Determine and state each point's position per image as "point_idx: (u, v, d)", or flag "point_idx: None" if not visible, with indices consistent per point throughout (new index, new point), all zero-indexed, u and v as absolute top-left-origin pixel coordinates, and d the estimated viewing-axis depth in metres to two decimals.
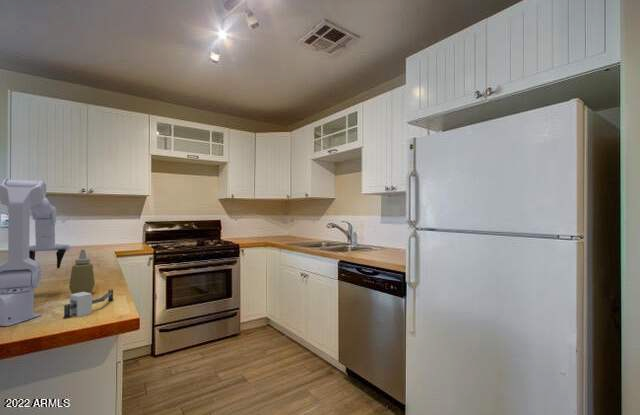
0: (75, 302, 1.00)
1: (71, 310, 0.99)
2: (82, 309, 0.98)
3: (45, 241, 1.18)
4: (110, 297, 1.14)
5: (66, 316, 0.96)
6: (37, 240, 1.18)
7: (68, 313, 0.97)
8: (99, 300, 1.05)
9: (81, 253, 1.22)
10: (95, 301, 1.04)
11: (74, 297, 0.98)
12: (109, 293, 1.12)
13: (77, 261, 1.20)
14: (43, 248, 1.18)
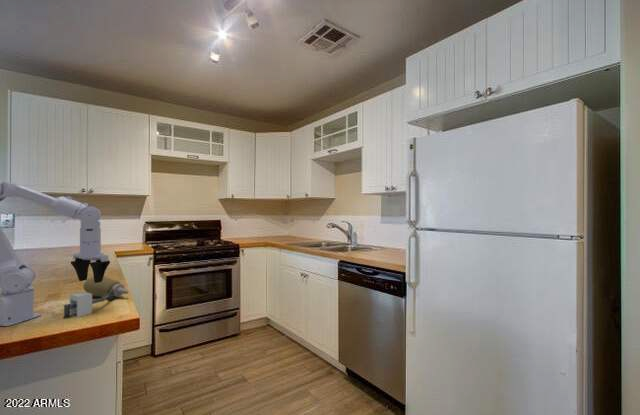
0: (75, 302, 1.00)
1: (71, 310, 0.99)
2: (82, 309, 0.98)
3: (83, 248, 1.02)
4: (110, 297, 1.14)
5: (66, 316, 0.96)
6: None
7: (68, 313, 0.97)
8: (99, 300, 1.05)
9: (122, 292, 1.17)
10: (95, 301, 1.04)
11: (74, 297, 0.98)
12: (109, 293, 1.12)
13: None
14: (81, 256, 1.02)
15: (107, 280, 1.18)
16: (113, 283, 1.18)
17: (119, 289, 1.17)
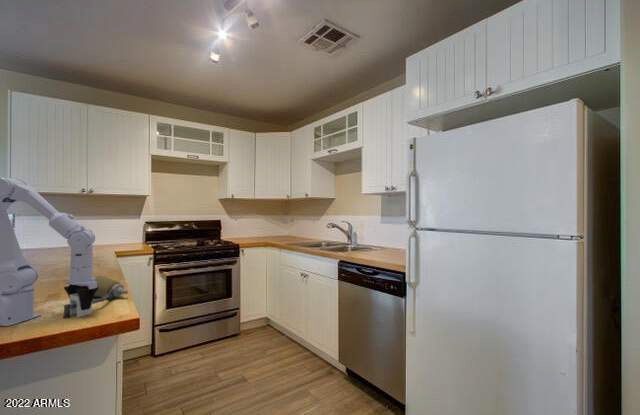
0: (75, 302, 1.00)
1: (71, 310, 0.99)
2: None
3: (72, 273, 0.98)
4: (110, 297, 1.14)
5: (66, 316, 0.96)
6: None
7: (68, 313, 0.97)
8: (99, 300, 1.05)
9: (122, 292, 1.17)
10: (95, 301, 1.04)
11: (74, 297, 0.98)
12: (109, 293, 1.12)
13: None
14: (70, 282, 0.98)
15: (106, 280, 1.18)
16: (112, 283, 1.18)
17: (119, 289, 1.17)
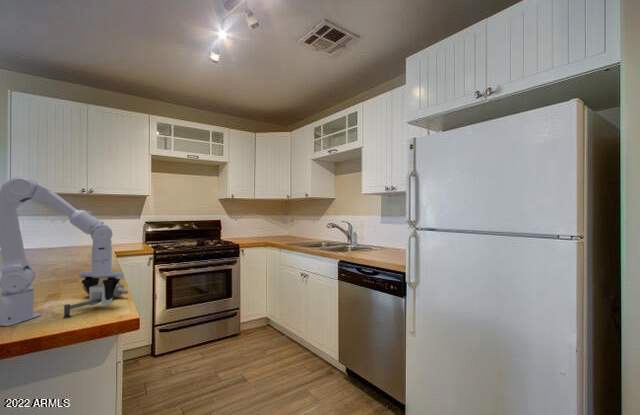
0: (94, 294, 1.05)
1: None
2: None
3: (97, 266, 1.03)
4: None
5: (66, 316, 0.96)
6: (91, 265, 1.04)
7: (68, 313, 0.97)
8: (99, 300, 1.05)
9: (122, 292, 1.17)
10: (95, 301, 1.04)
11: (97, 288, 1.04)
12: None
13: None
14: (94, 274, 1.03)
15: None
16: None
17: (119, 289, 1.17)
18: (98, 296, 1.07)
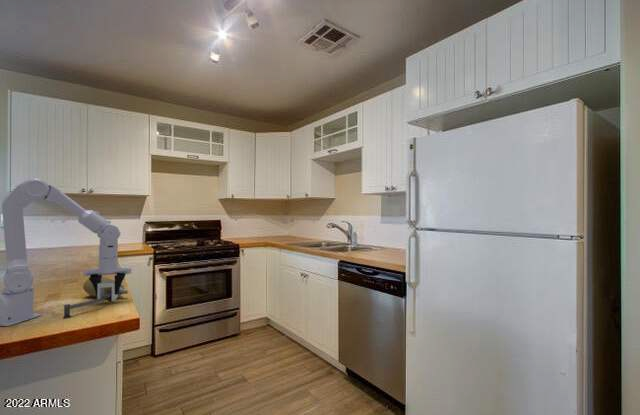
0: (101, 290, 1.11)
1: (100, 297, 1.09)
2: None
3: (107, 263, 1.09)
4: (110, 297, 1.14)
5: (66, 316, 0.96)
6: (100, 262, 1.09)
7: (68, 313, 0.97)
8: (99, 300, 1.05)
9: (122, 292, 1.17)
10: (95, 301, 1.04)
11: (107, 284, 1.10)
12: (109, 293, 1.12)
13: None
14: (105, 271, 1.09)
15: (106, 280, 1.18)
16: None
17: (119, 289, 1.17)
18: (103, 292, 1.12)
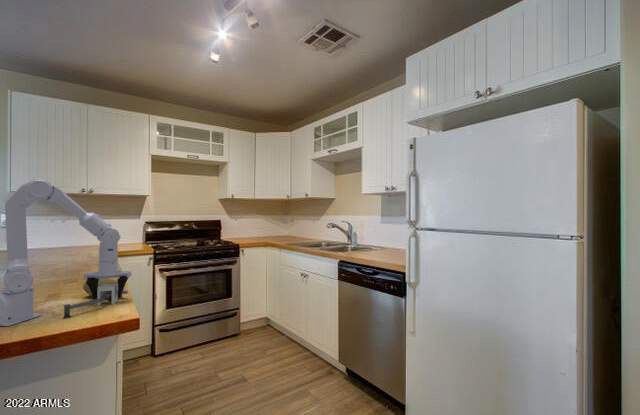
0: (101, 294, 1.11)
1: None
2: (115, 297, 1.12)
3: (107, 266, 1.09)
4: (110, 297, 1.14)
5: (66, 316, 0.96)
6: (100, 265, 1.09)
7: (68, 313, 0.97)
8: (99, 300, 1.05)
9: (122, 292, 1.17)
10: (95, 301, 1.04)
11: (107, 288, 1.10)
12: (109, 293, 1.12)
13: None
14: (105, 274, 1.09)
15: (106, 280, 1.18)
16: (112, 283, 1.18)
17: None
18: None
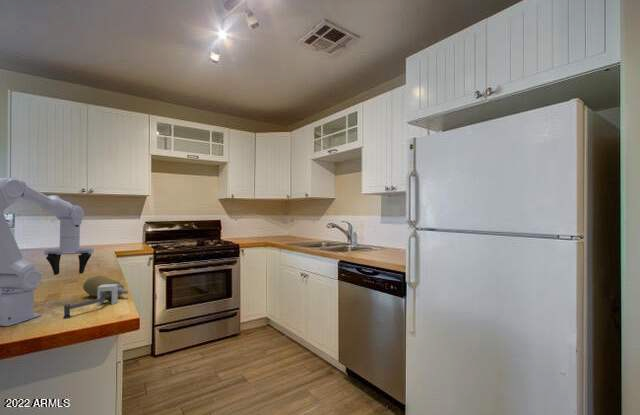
0: (101, 294, 1.11)
1: None
2: (115, 297, 1.12)
3: (68, 242, 1.10)
4: (110, 297, 1.14)
5: (66, 316, 0.96)
6: (60, 241, 1.10)
7: (68, 313, 0.97)
8: (99, 300, 1.05)
9: (122, 292, 1.17)
10: (95, 301, 1.04)
11: (107, 288, 1.10)
12: (109, 293, 1.12)
13: None
14: (65, 250, 1.10)
15: (106, 280, 1.18)
16: (112, 283, 1.18)
17: (119, 289, 1.17)
18: None
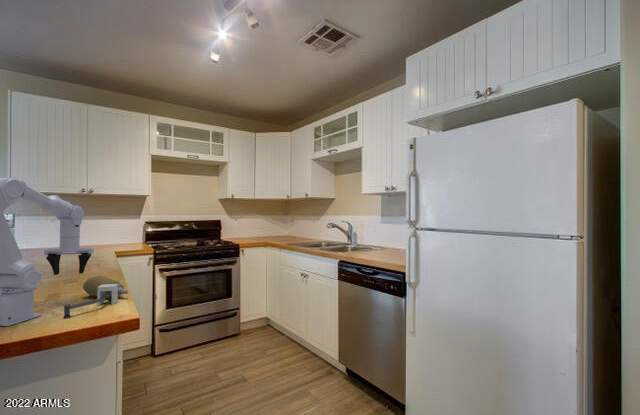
0: (101, 294, 1.11)
1: None
2: (115, 297, 1.12)
3: (68, 242, 1.10)
4: (110, 297, 1.14)
5: (66, 316, 0.96)
6: (60, 241, 1.10)
7: (68, 313, 0.97)
8: (99, 300, 1.05)
9: (122, 292, 1.17)
10: (95, 301, 1.04)
11: (107, 288, 1.10)
12: (109, 293, 1.12)
13: None
14: (65, 250, 1.10)
15: (106, 280, 1.18)
16: (112, 283, 1.18)
17: (119, 289, 1.17)
18: None
